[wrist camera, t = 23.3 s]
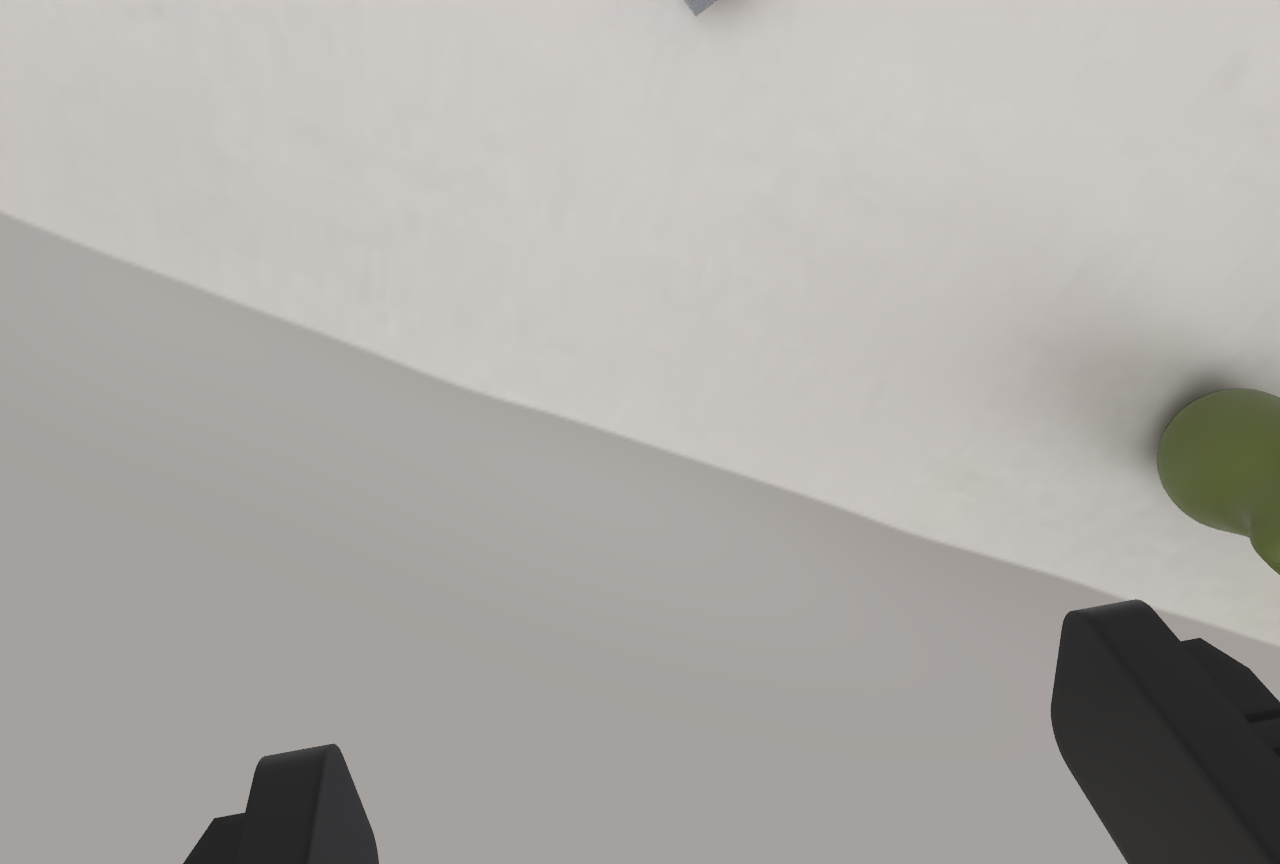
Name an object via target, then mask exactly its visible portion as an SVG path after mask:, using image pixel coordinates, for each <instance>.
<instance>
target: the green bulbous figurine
mask: <svg viewBox="0 0 1280 864" xmlns="http://www.w3.org/2000/svg"><path fill="white" fill-rule="evenodd" d="M1157 467H1158V473H1159V477H1160V480H1161V483H1162V485H1163V487H1164V489H1165V491H1166V492H1167V494H1168V496H1169V497H1170V498H1171V500H1172V501H1173V502H1174V503H1175V504H1176V505H1177V506H1178V507H1179V508H1180V509H1181V510H1182V511H1183V512H1184V513H1185V514H1187V515H1188V516H1189V517H1191V518H1192V519H1194V520H1196V521H1197V522H1199V523H1201V524H1204V525H1206V526H1209V527H1212V528H1215V529H1218V530H1222V531H1226V532H1231V533H1235V534H1239V535H1243V536H1247V537H1250V540H1251V544H1252V546H1253V548H1254V549H1255V551H1256V552H1257V553H1258V555H1259V556H1260V557H1261V558H1262V559H1263V560H1264V561H1265V562H1266V563H1267V564H1268V565H1269V566H1270V567H1271V568H1272V569H1274V570H1275V571H1276V572H1277V573H1278V574H1279V575H1280V398H1279V397H1276V396H1274V395H1271V394H1269V393H1265V392H1262V391H1257V390H1251V389H1226V390H1220V391H1216V392H1213V393H1210V394H1207V395H1205V396H1203V397H1201V398H1199V399H1197V400H1195V401H1193V402H1192V403H1190V404H1189V405H1187V406H1186V407H1185V408H1184V409H1182V410H1181V411H1180V412H1179V413H1178V414H1177V415H1176V416H1175V417H1174V418H1173V420H1172V421H1171V422H1170V424H1169V425H1168V427H1167V428H1166V430H1165V432H1164V434H1163V436H1162V439H1161V441H1160V444H1159V448H1158V454H1157Z"/></svg>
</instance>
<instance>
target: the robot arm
mask: <svg viewBox="0 0 1280 864" xmlns="http://www.w3.org/2000/svg"><path fill="white" fill-rule="evenodd" d="M1051 720H1052V726H1053V731H1054V735H1055V739H1056V742H1057V745H1058V747H1059V750H1060V752H1061V755H1062V757H1063V759H1064V761H1065V763H1066V764H1067V766H1068V768H1069V770H1070V771H1071V773H1072V774H1073V776H1074V778H1075V779H1076V780H1077V782H1078V784H1079V785H1080V787H1081V789H1082V790H1083V792H1084V794H1085V795H1086V797H1087V799H1088V800H1089V802H1090V803H1091V805H1092V806H1093V808H1094V810H1095V811H1096V813H1097V815H1098V816H1099V818H1100V819H1101V821H1102V823H1103V824H1104V826H1105V828H1106V829H1107V831H1108V832H1109V834H1110V835H1111V837H1112V839H1113V840H1114V842H1115V843H1116V845H1117V847H1118V848H1119V850H1120V852H1121V853H1122V855H1123V856H1124V858H1125V860H1126V861H1127V863H1128V864H1280V702H1279V701H1278V700H1277V699H1276V698H1275V697H1274V695H1273V694H1272V693H1271V692H1270V691H1269V690H1268V689H1267V688H1266V687H1265V685H1263V683H1262V682H1261V681H1260V680H1259V679H1258V678H1257V677H1256V676H1255V674H1253V672H1252V671H1251V670H1250V669H1249V668H1248V667H1246V666H1244V665H1243V664H1241V663H1239V662H1238V661H1236V660H1235V659H1233V658H1231V657H1230V656H1228V655H1227V654H1225V653H1223V652H1222V651H1220V650H1218V649H1217V648H1215V647H1214V646H1212V645H1211V644H1209V643H1207V642H1206V641H1204V640H1203V639H1201V638H1197V639H1192V640H1186V641H1181V642H1180V640H1179V639H1178V638H1177V637H1176V636H1175V635H1174V633H1173V632H1172V631H1171V630H1170V629H1169V628H1168V627H1167V625H1166V624H1165V623H1164V622H1163V621H1162V619H1161V618H1160V617H1159V616H1158V615H1157V613H1156V612H1155V611H1154V610H1153V609H1152V608H1151V607H1150V606H1149V605H1147V604H1146V603H1145V602H1143V601H1141V600H1130V601H1124V602H1119V603H1113V604H1108V605H1103V606H1097V607H1092V608H1087V609H1081V610H1075V611H1070V612H1069V613H1068V614H1067V615H1066V616H1065V618H1064V621H1063V626H1062V631H1061V639H1060V647H1059V653H1058V660H1057V667H1056V674H1055V682H1054V688H1053V695H1052V702H1051ZM183 864H379V861H378V853H377V847H376V842H375V838H374V834H373V831H372V828H371V826H370V823H369V821H368V818H367V816H366V813H365V811H364V808H363V805H362V803H361V800H360V798H359V795H358V793H357V790H356V788H355V785H354V783H353V780H352V778H351V775H350V773H349V770H348V767H347V765H346V762H345V760H344V757H343V755H342V753H341V751H340V749H339V747H338V746H336V745H335V744H329V745H324V746H319V747H313V748H307V749H302V750H297V751H291V752H286V753H280V754H275V755H270V756H265V757H263V758H261V760H260V761H259V762H258V765H257V767H256V770H255V773H254V777H253V782H252V786H251V790H250V795H249V799H248V803H247V807H246V812H245V813H241V814H236V815H230V816H225V817H219V818H214V820H213V821H212V822H211V824H210V825H209V827H208V829H207V830H206V831H205V833H204V834H203V836H202V837H201V838H200V840H199V841H198V843H197V845H196V846H195V847H194V849H193V850H192V852H191V853H190V854H189V856H188V857H187V859H186V860H185V862H184V863H183Z"/></svg>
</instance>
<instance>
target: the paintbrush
mask: <svg viewBox="0 0 1280 864" xmlns="http://www.w3.org/2000/svg"><path fill="white" fill-rule="evenodd" d="M684 1H685V2H686V4H687V5H688V6H689V8H690V9H691V11H692V12H693V13H694V15H695V16H697V15H699V14H700V13H701V12H702V11H704V10H705V9H706V8H708V7H709V6H710V5H711V4H713V3H714V2H715V1H717V0H684Z"/></svg>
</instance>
